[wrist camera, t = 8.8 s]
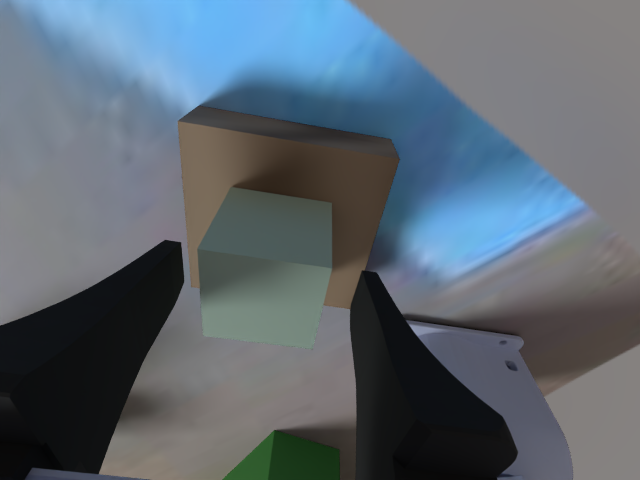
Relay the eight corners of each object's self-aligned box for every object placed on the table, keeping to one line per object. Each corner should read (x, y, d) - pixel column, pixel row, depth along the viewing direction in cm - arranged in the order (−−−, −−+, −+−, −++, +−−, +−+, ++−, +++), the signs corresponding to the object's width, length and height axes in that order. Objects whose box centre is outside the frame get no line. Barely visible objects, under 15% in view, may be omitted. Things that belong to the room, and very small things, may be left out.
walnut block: (389, 135, 16) (399, 159, 14) (350, 274, 21) (352, 309, 19) (201, 103, 16) (177, 120, 13) (208, 253, 21) (191, 287, 18)
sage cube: (331, 202, 15) (332, 268, 11) (316, 276, 17) (312, 349, 14) (230, 186, 15) (197, 249, 11) (230, 264, 17) (202, 335, 14)
